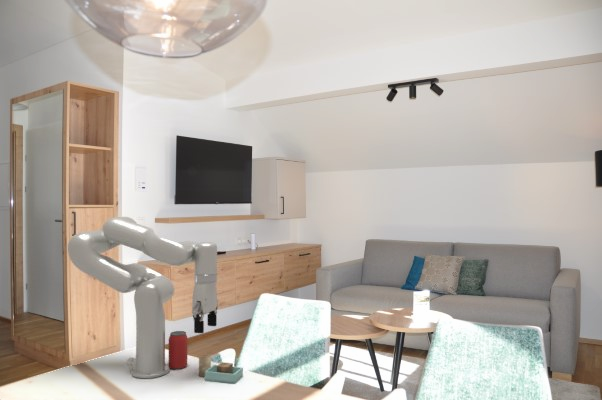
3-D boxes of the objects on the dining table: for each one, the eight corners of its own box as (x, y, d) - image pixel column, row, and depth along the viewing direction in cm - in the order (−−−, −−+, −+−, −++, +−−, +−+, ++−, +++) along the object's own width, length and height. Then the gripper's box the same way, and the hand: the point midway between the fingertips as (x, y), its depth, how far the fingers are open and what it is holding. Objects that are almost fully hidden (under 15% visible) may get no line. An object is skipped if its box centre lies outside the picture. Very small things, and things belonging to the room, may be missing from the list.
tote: (204, 380, 160) (204, 371, 160) (214, 373, 167) (214, 364, 167) (234, 383, 157) (234, 374, 157) (242, 376, 164) (242, 367, 164)
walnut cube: (227, 379, 160) (216, 378, 161) (232, 375, 163) (221, 374, 164) (227, 367, 160) (216, 366, 161) (232, 363, 163) (221, 362, 164)
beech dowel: (196, 376, 164) (196, 358, 164) (202, 372, 168) (202, 354, 168) (207, 377, 163) (207, 359, 163) (212, 373, 167) (212, 355, 167)
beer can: (182, 370, 170) (182, 335, 170) (165, 369, 171) (165, 334, 171) (190, 364, 176) (190, 331, 176) (173, 363, 178) (173, 330, 178)
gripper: (207, 274, 175) (207, 322, 175) (183, 282, 158) (183, 335, 158) (226, 275, 173) (226, 324, 173) (204, 283, 156) (204, 336, 156)
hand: (205, 329), depth 166 cm, fingers open, 9 cm apart
